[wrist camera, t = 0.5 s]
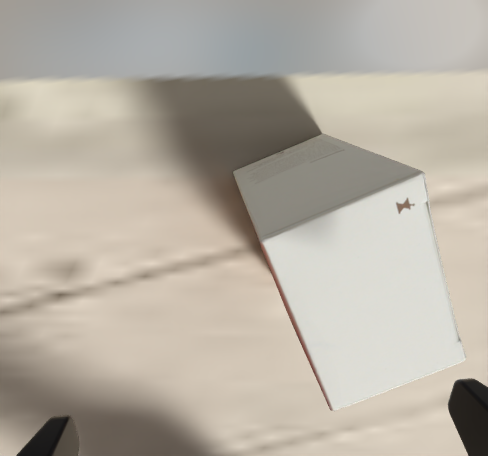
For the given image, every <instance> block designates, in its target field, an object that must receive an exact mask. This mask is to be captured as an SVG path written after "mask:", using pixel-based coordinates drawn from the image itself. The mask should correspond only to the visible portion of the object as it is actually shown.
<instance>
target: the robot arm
mask: <svg viewBox="0 0 488 456" xmlns="http://www.w3.org/2000/svg"><path fill="white" fill-rule="evenodd" d="M448 409H449V413H450V415H451V418H452V420H453V422H454V424H455V426H456V429H457V431H458V433H459V435H460V438H461V440H462V442H463V444H464V447H465V449H466V451H467V453H468V456H488V387H486V386H485V385H483V384H482V383H480V382H479V381H477V380H475V379H459V380H457V381H455V383H454V385H453V389H452V392H451V395H450V399H449V402H448ZM78 452H79V438H78V434H77V431H76V427H75V424H74V420H73V418H72V417H71V416H70V415H64V416H54V417H52V418H50V419H49V420H48V421H47V422H46V423H45V424H44V426H43V427H42V428H41V429H40V430H39V431H38V432H37V433H36V434H35V436H34V437H33V438H32V439H31V440H30V441H29V442H28V443H27V444H26V445H25V447H24V448H23V449H22V450H21V451H20V452H19V453H18V454H17V455H16V456H78Z"/></svg>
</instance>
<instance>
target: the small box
mask: <svg viewBox="0 0 488 456" xmlns="http://www.w3.org/2000/svg"><path fill="white" fill-rule="evenodd" d="M233 175H234V177H235V180H236V183H237V185H238V188H239V191H240V193H241V196H242V198H243V201H244V204H245V206H246V208H247V211H248V213H249V216H250V219H251V221H252V224H253V227H254V229H255V232H256V235H257V237H258V240H259V243H260V245H261V248H262V251H263V253H264V256H265V258H266V261H267V263H268V266H269V268H270V271H271V273H272V276H273V278H274V281H275V283H276V286H277V288H278V291H279V293H280V296H281V298H282V301H283V303H284V306H285V308H286V311H287V313H288V315H289V318H290V320H291V322H292V325H293V327H294V329H295V332H296V334H297V336H298V338H299V341H300V343H301V345H302V347H303V350H304V352H305V354H306V356H307V359H308V361H309V363H310V365H311V368H312V370H313V372H314V374H315V376H316V379H317V381H318V383H319V385H320V388H321V390H322V392H323V394H324V397H325V399H326V401H327V404H328V406H329V408H330V410H331V411H336V410H338V409H341V408H344V407H347V406H350V405H353V404H355V403H358V402H360V401H363V400H366V399H368V398H371V397H373V396H376V395H378V394H381V393H384V392H386V391H389V390H392V389H394V388H397V387H399V386H402V385H405V384H407V383H410V382H412V381H415V380H417V379H420V378H423V377H425V376H428V375H430V374H433V373H436V372H438V371H441V370H443V369H446V368H448V367H451V366H454V365H456V364H459V363H461V362H463V361H465V359H466V354H465V351H464V348H463V345H462V341H461V338H460V335H459V331H458V328H457V324H456V320H455V316H454V312H453V307H452V303H451V299H450V295H449V291H448V286H447V282H446V278H445V274H444V269H443V265H442V261H441V256H440V252H439V247H438V243H437V238H436V234H435V229H434V224H433V219H432V215H431V210H430V204H429V196H428V190H427V184H426V178H425V173H424V172H423V171H420V170H418V169H415V168H412V167H410V166H407V165H405V164H402V163H399V162H397V161H394V160H391V159H389V158H386V157H384V156H381V155H378V154H375V153H373V152H370V151H368V150H365V149H362V148H360V147H357V146H354V145H352V144H349V143H347V142H344V141H341V140H339V139H336V138H333V137H331V136H328V135H326V134H321V135H319V136H317V137H314V138H312V139H309V140H307V141H305V142H302V143H300V144H297V145H295V146H293V147H290V148H288V149H285V150H283V151H280V152H278V153H276V154H273V155H271V156H268V157H266V158H264V159H261V160H259V161H256V162H254V163H252V164H249V165H247V166H245V167H242V168H240V169H237V170H235V171H234V172H233Z"/></svg>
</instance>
